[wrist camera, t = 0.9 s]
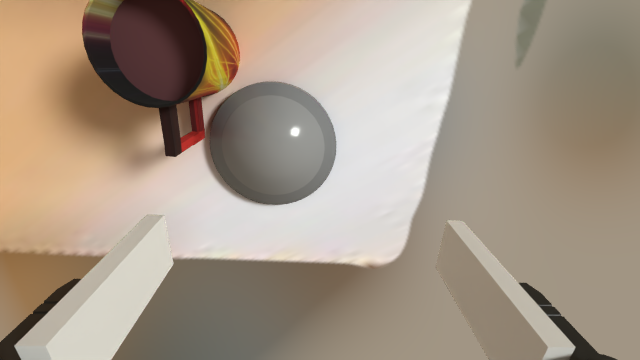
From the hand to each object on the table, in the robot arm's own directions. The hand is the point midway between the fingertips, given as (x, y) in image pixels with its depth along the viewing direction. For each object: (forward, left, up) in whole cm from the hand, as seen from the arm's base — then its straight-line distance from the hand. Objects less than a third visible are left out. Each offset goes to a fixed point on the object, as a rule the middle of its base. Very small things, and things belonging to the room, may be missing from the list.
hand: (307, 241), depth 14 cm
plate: (+2, -4, -26) cm, 27 cm away
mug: (-7, -12, -27) cm, 30 cm away
